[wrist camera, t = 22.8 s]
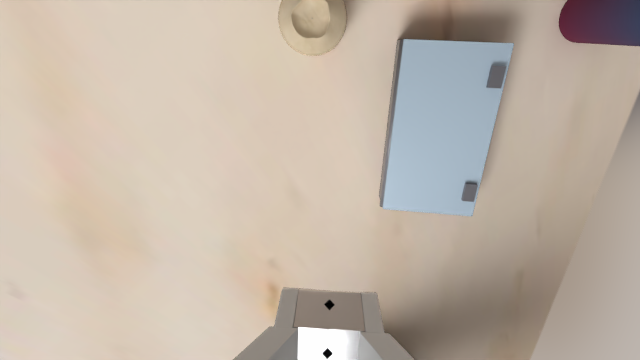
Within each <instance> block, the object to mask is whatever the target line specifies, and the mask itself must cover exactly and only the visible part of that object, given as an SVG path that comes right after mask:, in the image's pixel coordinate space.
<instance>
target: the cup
mask: <svg viewBox="0 0 640 360" xmlns="http://www.w3.org/2000/svg"><path fill="white" fill-rule="evenodd" d="M559 28H560V31H561V33H562V35H563V36H564V37H565V38H566V39H567V40H569V41H571V42H576V43H592V44H610V45H627V46H640V0H568V1H567V2H566V4H565V5H564V7H563V9H562V11H561V14H560V18H559Z"/></svg>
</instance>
